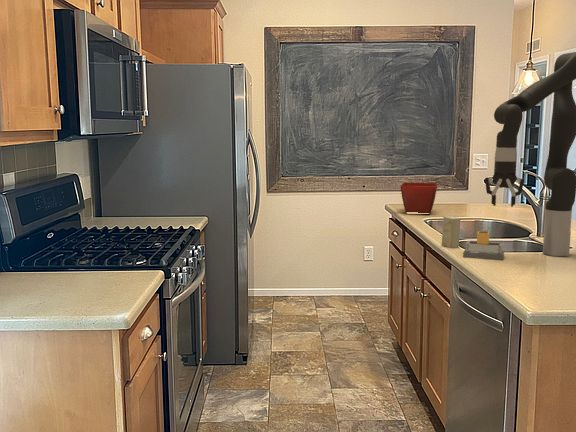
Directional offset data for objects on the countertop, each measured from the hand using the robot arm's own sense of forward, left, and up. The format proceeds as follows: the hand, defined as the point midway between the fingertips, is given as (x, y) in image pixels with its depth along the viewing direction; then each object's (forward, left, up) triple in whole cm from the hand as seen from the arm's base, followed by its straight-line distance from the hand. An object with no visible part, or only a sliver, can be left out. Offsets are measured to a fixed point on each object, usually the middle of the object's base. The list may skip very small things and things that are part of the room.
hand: (503, 205), depth 223 cm
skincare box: (+20, -15, -20) cm, 32 cm away
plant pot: (+51, -107, -20) cm, 120 cm away
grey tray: (+6, 0, -19) cm, 20 cm away
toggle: (+7, 0, -17) cm, 19 cm away
